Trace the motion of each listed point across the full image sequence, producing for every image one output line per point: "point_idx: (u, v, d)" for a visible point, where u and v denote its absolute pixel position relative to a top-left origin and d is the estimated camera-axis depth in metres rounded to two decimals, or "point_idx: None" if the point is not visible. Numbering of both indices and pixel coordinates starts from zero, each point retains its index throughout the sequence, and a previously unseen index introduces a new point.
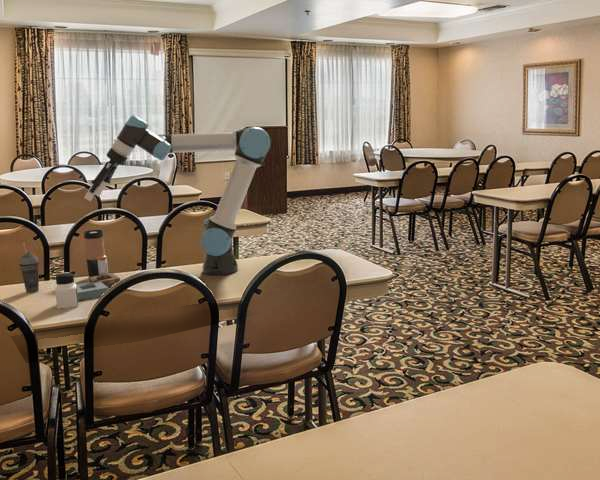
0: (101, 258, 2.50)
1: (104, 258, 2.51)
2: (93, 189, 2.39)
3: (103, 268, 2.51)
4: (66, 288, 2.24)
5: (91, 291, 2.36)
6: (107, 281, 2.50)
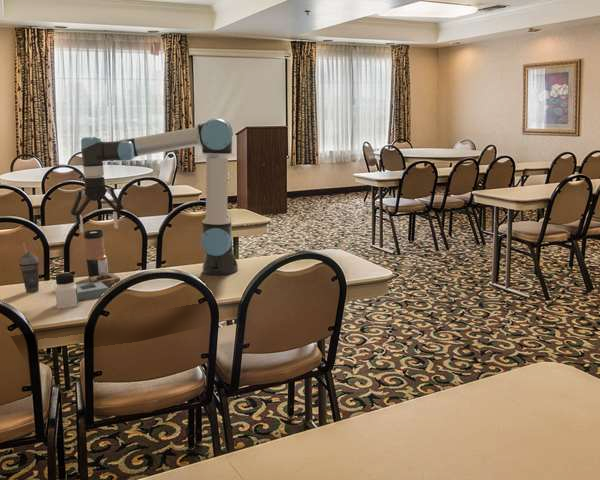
0: (101, 258, 2.50)
1: (104, 258, 2.51)
2: (76, 220, 2.44)
3: (103, 268, 2.51)
4: (66, 288, 2.24)
5: (91, 291, 2.36)
6: (107, 281, 2.50)
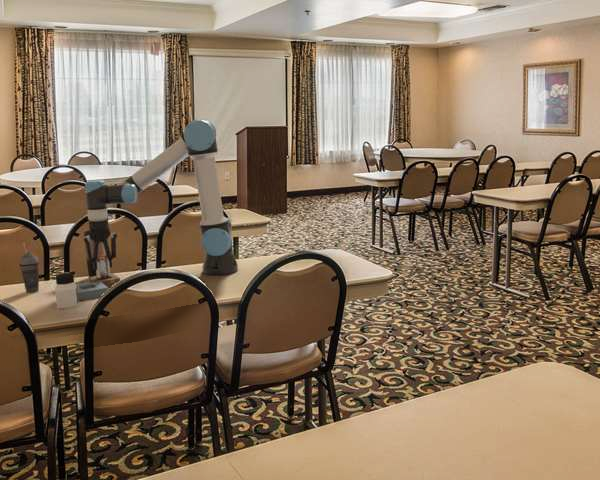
0: (101, 258, 2.50)
1: (104, 258, 2.51)
2: (93, 266, 2.51)
3: (103, 268, 2.51)
4: (66, 288, 2.24)
5: (91, 291, 2.36)
6: (107, 281, 2.50)
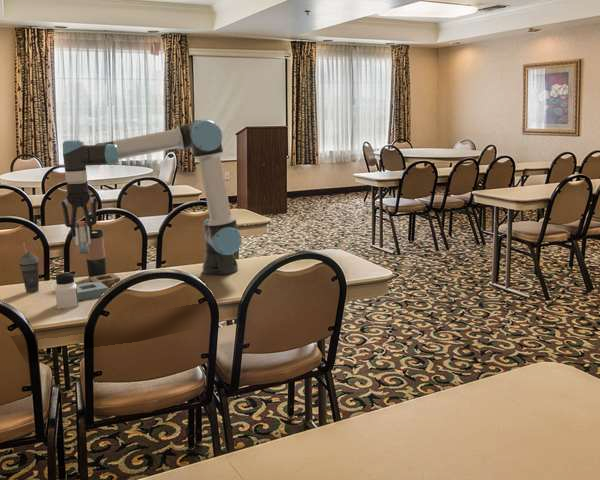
0: (80, 224, 2.34)
1: (83, 224, 2.35)
2: (72, 232, 2.34)
3: (82, 234, 2.35)
4: (66, 288, 2.24)
5: (91, 291, 2.36)
6: (107, 281, 2.50)
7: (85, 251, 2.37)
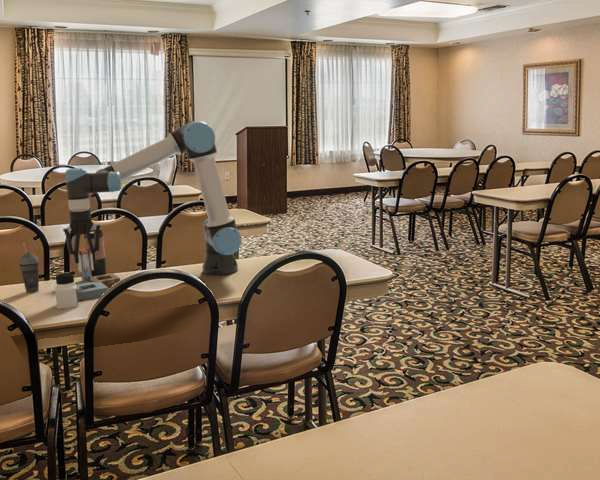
0: (83, 252, 2.36)
1: (86, 252, 2.37)
2: (75, 259, 2.36)
3: (85, 262, 2.37)
4: (66, 288, 2.24)
5: (91, 291, 2.36)
6: (107, 281, 2.50)
7: (88, 278, 2.39)
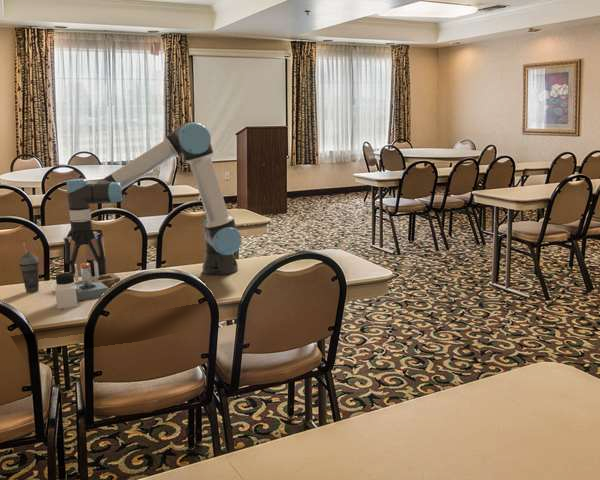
0: (84, 266, 2.37)
1: (87, 266, 2.38)
2: (71, 269, 2.36)
3: (86, 276, 2.38)
4: (66, 288, 2.24)
5: (91, 291, 2.36)
6: (107, 281, 2.50)
7: None
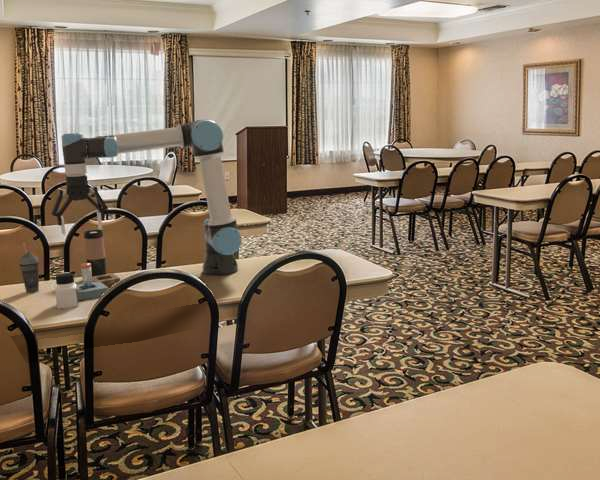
0: (85, 266, 2.38)
1: (88, 266, 2.38)
2: (58, 221, 2.31)
3: (87, 276, 2.38)
4: (66, 288, 2.24)
5: (91, 291, 2.36)
6: (107, 281, 2.50)
7: None
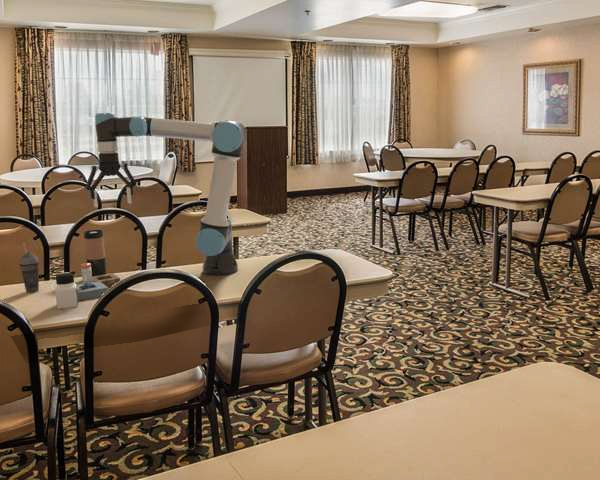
0: (85, 266, 2.38)
1: (88, 266, 2.38)
2: (91, 195, 2.48)
3: (87, 276, 2.38)
4: (66, 288, 2.24)
5: (91, 291, 2.36)
6: (107, 281, 2.50)
7: None
